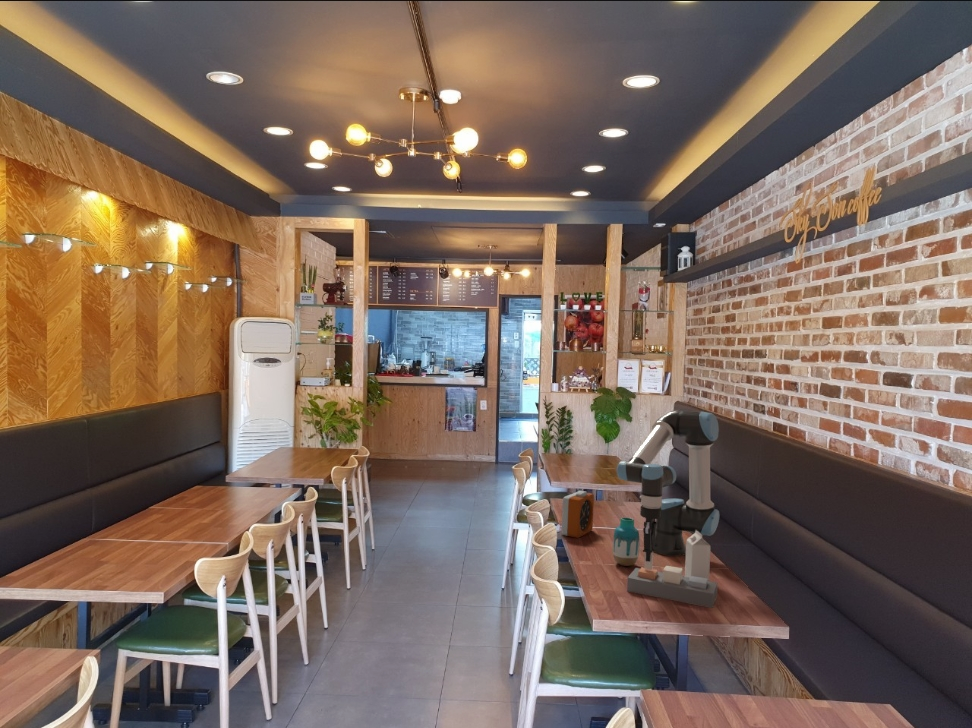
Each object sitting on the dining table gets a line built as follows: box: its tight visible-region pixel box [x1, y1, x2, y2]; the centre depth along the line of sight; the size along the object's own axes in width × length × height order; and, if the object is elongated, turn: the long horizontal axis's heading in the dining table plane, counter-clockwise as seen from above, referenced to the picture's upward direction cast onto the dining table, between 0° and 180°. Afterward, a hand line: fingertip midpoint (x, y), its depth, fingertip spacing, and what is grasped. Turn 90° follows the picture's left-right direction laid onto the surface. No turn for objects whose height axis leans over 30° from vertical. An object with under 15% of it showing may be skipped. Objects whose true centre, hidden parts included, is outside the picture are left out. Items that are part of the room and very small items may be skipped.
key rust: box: [638, 566, 659, 580], centre depth 245 cm, size 6×6×6 cm
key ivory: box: [662, 565, 684, 584], centre depth 241 cm, size 6×6×6 cm
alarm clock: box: [561, 490, 595, 539], centre depth 317 cm, size 18×9×21 cm, turn 148°
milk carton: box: [684, 530, 711, 581], centre depth 256 cm, size 7×7×19 cm
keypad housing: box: [626, 567, 718, 609], centre depth 241 cm, size 13×30×5 cm, turn 64°
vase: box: [612, 516, 640, 567], centre depth 272 cm, size 11×11×19 cm
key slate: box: [688, 576, 708, 589], centre depth 237 cm, size 6×6×6 cm
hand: (648, 569), depth 245 cm, fingers closed
